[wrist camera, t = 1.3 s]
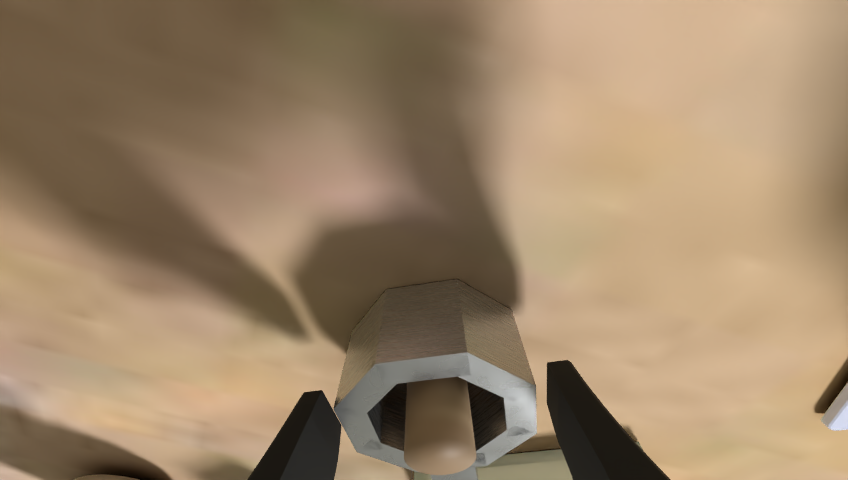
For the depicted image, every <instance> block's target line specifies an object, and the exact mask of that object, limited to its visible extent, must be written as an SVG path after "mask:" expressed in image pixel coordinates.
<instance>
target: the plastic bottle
mask: <svg viewBox="0 0 848 480" xmlns="http://www.w3.org/2000/svg"><path fill="white" fill-rule="evenodd" d="M74 480H139V479H135V478H130V477H125V476H117V475H105V474H98V475H87V476H82V477H79V478H76V479H74Z"/></svg>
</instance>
